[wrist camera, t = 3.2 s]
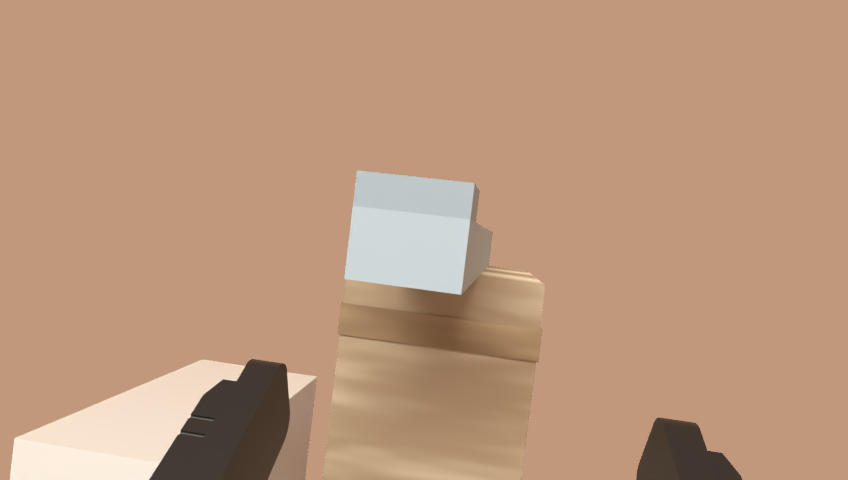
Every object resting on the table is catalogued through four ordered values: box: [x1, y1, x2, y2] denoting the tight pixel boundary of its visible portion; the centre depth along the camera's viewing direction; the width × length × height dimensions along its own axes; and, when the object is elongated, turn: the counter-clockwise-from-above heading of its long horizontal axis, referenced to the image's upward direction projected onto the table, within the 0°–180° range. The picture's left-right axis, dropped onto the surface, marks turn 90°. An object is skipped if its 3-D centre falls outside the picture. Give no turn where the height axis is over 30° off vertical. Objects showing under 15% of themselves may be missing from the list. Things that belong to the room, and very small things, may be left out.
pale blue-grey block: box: [344, 171, 492, 295], centre depth 32 cm, size 24×4×4 cm, turn 172°
